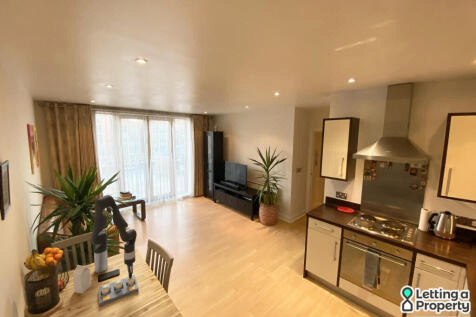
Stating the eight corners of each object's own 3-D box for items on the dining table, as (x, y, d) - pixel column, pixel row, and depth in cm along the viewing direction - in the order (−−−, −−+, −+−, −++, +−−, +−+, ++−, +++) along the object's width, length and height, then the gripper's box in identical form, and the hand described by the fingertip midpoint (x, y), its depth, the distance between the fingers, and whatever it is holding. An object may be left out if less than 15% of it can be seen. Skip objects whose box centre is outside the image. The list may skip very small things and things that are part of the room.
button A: (101, 291, 142) (101, 285, 142) (109, 288, 145) (109, 283, 144) (101, 295, 138) (101, 290, 138) (109, 292, 141) (109, 287, 140)
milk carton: (81, 293, 143) (80, 269, 141) (74, 292, 145) (72, 268, 142) (91, 286, 150) (89, 263, 148) (83, 285, 151) (82, 262, 149)
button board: (99, 290, 146) (98, 286, 146) (134, 278, 160) (134, 274, 160) (99, 307, 133) (99, 302, 132) (138, 291, 147) (138, 287, 146)
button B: (114, 286, 147) (114, 281, 146) (122, 283, 149) (121, 278, 149) (115, 290, 143) (114, 285, 142) (122, 287, 146) (122, 282, 145)
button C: (126, 282, 151) (126, 277, 151) (133, 279, 154) (133, 274, 154) (127, 286, 147) (127, 280, 147) (134, 283, 150) (134, 278, 150)
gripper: (123, 253, 151) (123, 274, 153) (125, 262, 141) (125, 284, 142) (134, 250, 156) (134, 270, 158) (136, 258, 145) (137, 280, 147)
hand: (130, 277), depth 150 cm, fingers closed
